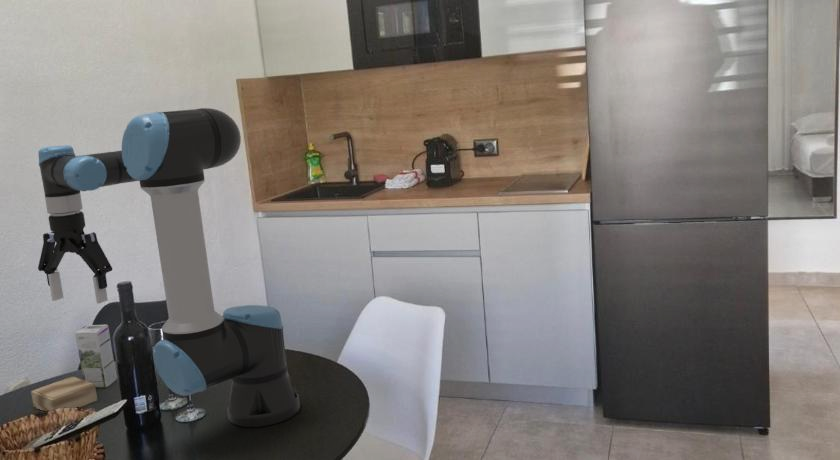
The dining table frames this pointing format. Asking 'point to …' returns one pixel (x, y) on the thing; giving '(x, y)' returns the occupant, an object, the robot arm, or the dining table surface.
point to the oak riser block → (64, 394)
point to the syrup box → (96, 355)
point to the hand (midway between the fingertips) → (79, 300)
